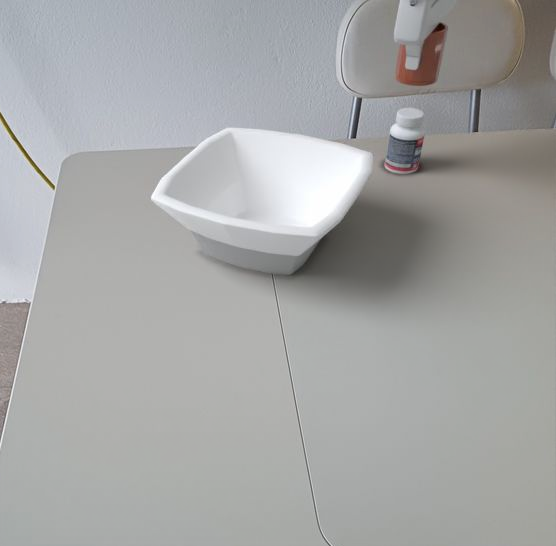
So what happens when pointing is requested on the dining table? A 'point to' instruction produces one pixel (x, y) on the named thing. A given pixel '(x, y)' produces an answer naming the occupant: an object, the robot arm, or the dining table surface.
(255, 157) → the bowl
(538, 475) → the dining table surface
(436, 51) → the cup
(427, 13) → the robot arm
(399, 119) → the pill bottle
